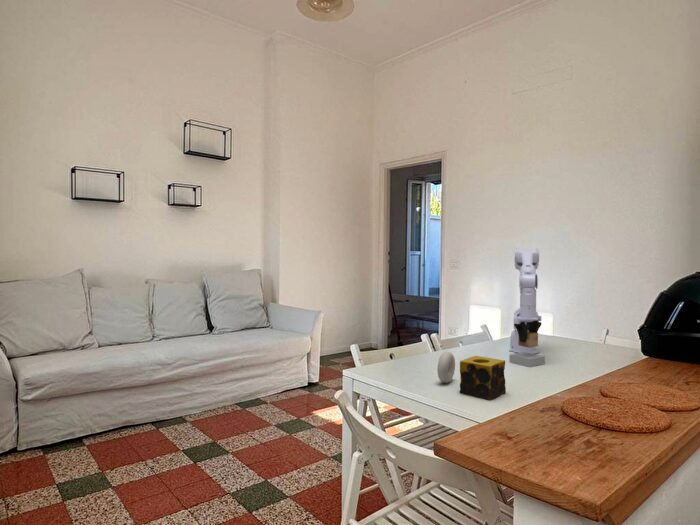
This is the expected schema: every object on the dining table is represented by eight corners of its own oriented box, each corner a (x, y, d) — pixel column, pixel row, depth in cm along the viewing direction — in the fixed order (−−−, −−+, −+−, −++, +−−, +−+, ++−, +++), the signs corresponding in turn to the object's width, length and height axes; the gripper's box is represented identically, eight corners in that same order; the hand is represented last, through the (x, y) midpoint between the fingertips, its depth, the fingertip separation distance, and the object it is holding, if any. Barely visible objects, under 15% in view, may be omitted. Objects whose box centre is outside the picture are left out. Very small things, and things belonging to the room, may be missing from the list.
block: (518, 345, 174) (518, 332, 174) (526, 343, 177) (526, 331, 177) (530, 347, 170) (530, 334, 170) (537, 346, 173) (538, 333, 173)
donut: (445, 387, 143) (446, 355, 142) (435, 385, 144) (435, 353, 144) (456, 379, 151) (456, 349, 151) (446, 378, 153) (446, 348, 153)
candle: (506, 393, 137) (506, 360, 137) (491, 401, 130) (491, 366, 129) (475, 386, 144) (475, 354, 144) (458, 393, 136) (459, 360, 136)
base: (509, 362, 176) (509, 354, 175) (524, 359, 181) (524, 351, 180) (530, 367, 168) (530, 359, 168) (544, 364, 173) (544, 356, 173)
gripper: (525, 307, 166) (524, 345, 167) (548, 305, 174) (548, 340, 175) (509, 306, 172) (508, 341, 173) (532, 303, 180) (532, 338, 181)
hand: (527, 341), depth 174 cm, fingers closed on block, 5 cm apart
